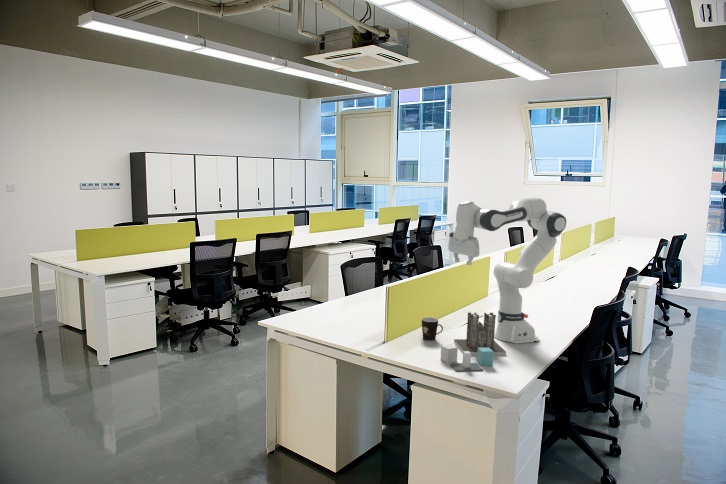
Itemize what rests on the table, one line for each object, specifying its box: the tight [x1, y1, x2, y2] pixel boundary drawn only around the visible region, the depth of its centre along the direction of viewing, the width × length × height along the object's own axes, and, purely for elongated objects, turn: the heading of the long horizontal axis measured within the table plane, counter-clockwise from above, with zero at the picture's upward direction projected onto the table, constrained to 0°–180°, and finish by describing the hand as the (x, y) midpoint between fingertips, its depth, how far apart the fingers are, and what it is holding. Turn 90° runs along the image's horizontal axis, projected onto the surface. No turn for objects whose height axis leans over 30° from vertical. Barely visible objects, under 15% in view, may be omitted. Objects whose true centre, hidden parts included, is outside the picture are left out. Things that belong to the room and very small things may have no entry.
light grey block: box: [440, 343, 459, 364], centre depth 222 cm, size 5×5×7 cm
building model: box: [453, 311, 507, 356], centre depth 238 cm, size 20×20×18 cm
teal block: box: [476, 347, 494, 367], centre depth 219 cm, size 5×5×7 cm
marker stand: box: [449, 351, 484, 373], centre depth 214 cm, size 12×8×7 cm, turn 98°
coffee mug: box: [421, 316, 444, 342], centre depth 251 cm, size 12×9×10 cm
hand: (462, 263), depth 240 cm, fingers open, 8 cm apart
